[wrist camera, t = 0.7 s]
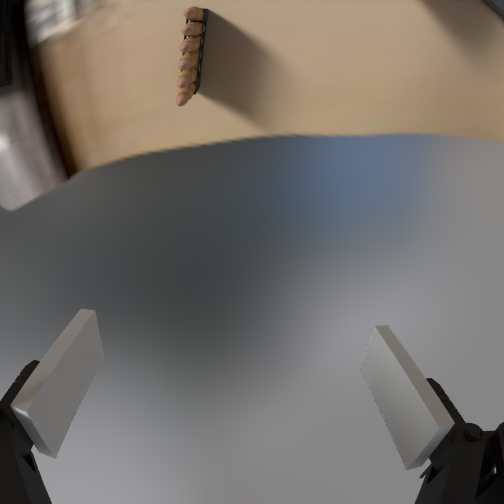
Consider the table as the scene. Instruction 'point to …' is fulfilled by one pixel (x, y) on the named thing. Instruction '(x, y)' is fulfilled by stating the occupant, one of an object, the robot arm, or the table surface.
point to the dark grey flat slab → (496, 6)
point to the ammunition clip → (191, 54)
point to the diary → (5, 43)
